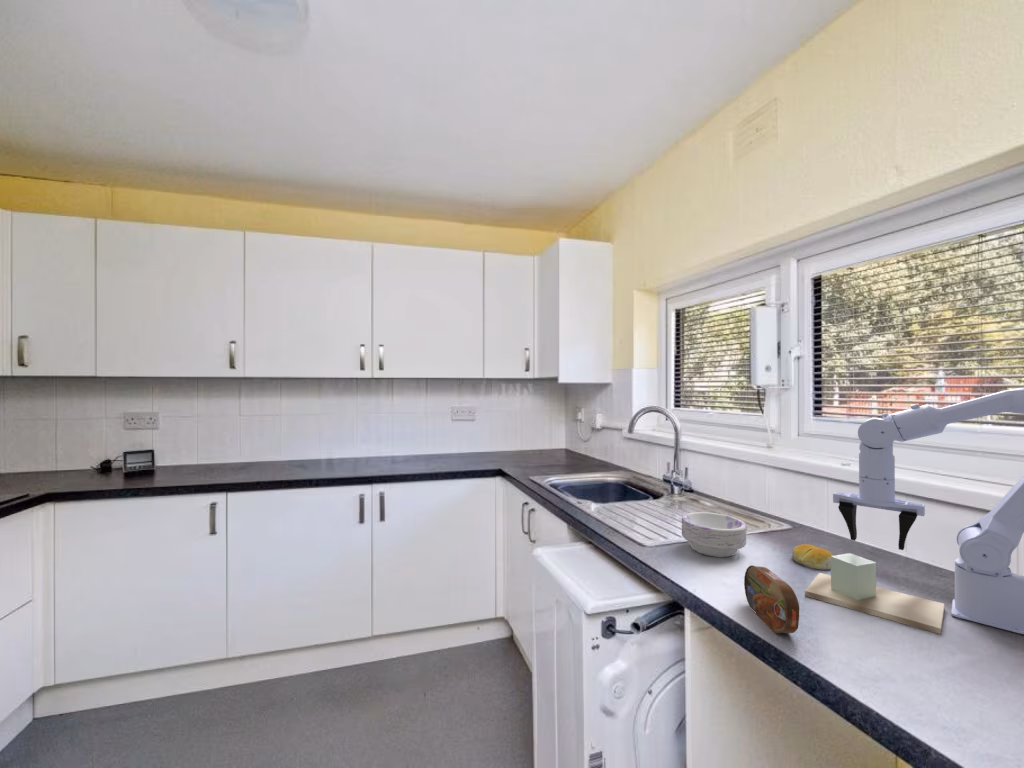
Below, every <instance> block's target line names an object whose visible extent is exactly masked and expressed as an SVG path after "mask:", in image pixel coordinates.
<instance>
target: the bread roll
mask: <svg viewBox="0 0 1024 768" xmlns="http://www.w3.org/2000/svg"><path fill="white" fill-rule="evenodd" d="M831 556H835V555H834V554H833V553H832V552H831V551H830V550H827V549H825V548H822V547H817V546H816V545H813V544H809V543H805V544H802V543H801V544H799V545H796V546H794V548H793V549H792V553H791V557H792V559H793V561H794V562H796V563H797V564H800V565H803V566H804V567H807V568H810V569H815V570H823V571H825V570H831Z"/></svg>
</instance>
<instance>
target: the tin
mask: <svg viewBox="0 0 1024 768" xmlns="http://www.w3.org/2000/svg"><path fill="white" fill-rule="evenodd" d="M743 581H744V582H743V583H744V584H743V585H744V593H745V599H746V600H747V601H746V602H747V605H749V606H748V607H751V608H752V609H753V610H754V611H755V612H756V613H755V612H754V611H753V610H752V609H751V608H750V609H751V610H752V611H753V612H754V613H755V615H756V616H757V617H759V618H760V619H761V620H762V621H763V623H764V624H765V623H766V624H765V625H766V626H767V627H768V628H769V629H770V630H771V631H772V632H773V633H775V634H793V633H796V632H797V631H798V630H799V624H800V603H799V600H798V598H797V597H798V596H797V595H796V592H795V591H794V589H793V588H792V587H791V586H790V585H789V583H787V582H786V581H784V580H783V579H782V578H781V577H779V576H778V575H777V574H776V573H774V572H773V571H772V570H770V569H769V568H767V567H766V566H757V565H749V566H748V567H747V568H746V570H745V573H744V579H743Z"/></svg>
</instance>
